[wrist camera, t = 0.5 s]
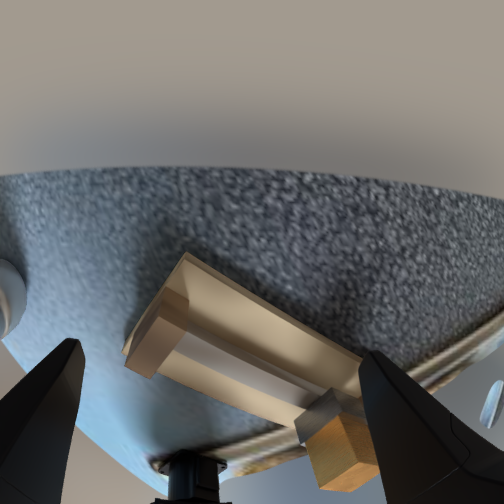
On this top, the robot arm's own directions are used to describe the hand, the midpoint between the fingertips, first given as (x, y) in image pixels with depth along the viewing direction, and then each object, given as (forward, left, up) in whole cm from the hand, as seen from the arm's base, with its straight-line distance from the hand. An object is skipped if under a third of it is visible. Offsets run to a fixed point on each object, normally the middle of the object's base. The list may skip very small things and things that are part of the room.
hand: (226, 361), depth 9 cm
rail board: (-8, -11, -15) cm, 20 cm away
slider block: (-8, -17, -11) cm, 22 cm away
